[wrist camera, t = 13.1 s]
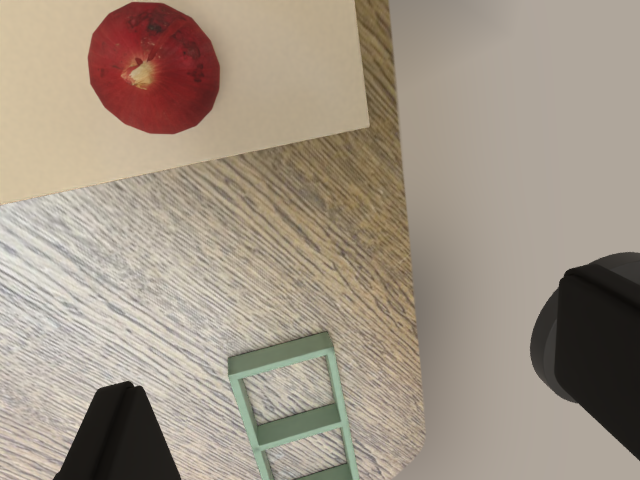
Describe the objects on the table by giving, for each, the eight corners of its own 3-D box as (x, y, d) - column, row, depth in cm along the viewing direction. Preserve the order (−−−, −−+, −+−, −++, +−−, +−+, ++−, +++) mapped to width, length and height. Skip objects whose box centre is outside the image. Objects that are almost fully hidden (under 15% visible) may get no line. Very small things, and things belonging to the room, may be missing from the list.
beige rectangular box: (321, -41, 28) (345, -72, 23) (344, 118, 32) (370, 126, 27) (-34, 15, 26) (-111, -4, 20) (40, 181, 30) (-5, 206, 24)
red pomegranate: (129, -8, 22) (79, -51, 14) (235, 45, 23) (239, 30, 16) (98, 100, 23) (38, 111, 16) (201, 142, 25) (189, 168, 18)
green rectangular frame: (327, 331, 39) (333, 346, 37) (354, 465, 46) (360, 485, 44) (227, 357, 38) (227, 375, 36) (271, 491, 45) (273, 513, 43)
